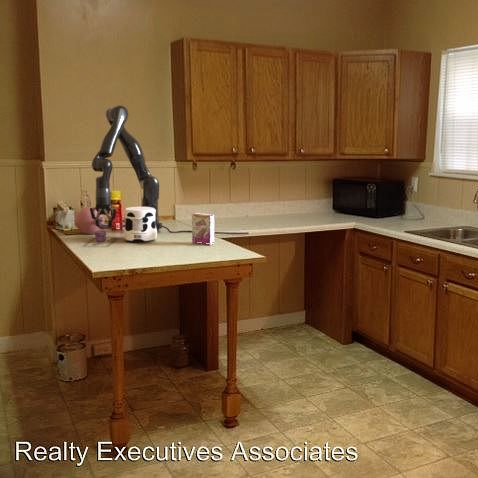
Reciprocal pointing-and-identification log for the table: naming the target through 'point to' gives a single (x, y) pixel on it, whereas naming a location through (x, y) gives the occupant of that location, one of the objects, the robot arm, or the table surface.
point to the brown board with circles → (99, 242)
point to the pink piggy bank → (87, 221)
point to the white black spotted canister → (140, 224)
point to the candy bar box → (202, 228)
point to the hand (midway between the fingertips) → (103, 226)
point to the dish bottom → (100, 239)
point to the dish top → (103, 226)
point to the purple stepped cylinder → (100, 233)
